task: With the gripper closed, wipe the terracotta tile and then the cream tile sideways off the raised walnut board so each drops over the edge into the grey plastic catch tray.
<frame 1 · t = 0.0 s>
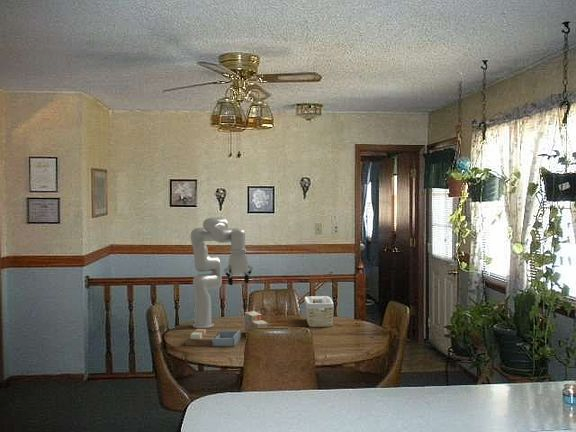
hand: (238, 284, 322), 31 cm above the table, tool pointing down, fingers open, 9 cm apart
terracotta tile: (200, 334, 327), point 3 cm above the table, touching walnut board
cream tile: (196, 338, 319), point 3 cm above the table, touching walnut board
stack of blocks: (256, 336, 334), on the table
storage basket: (318, 323, 366), on the table
catch tray: (226, 342, 321), on the table
walnut board: (202, 341, 323), on the table
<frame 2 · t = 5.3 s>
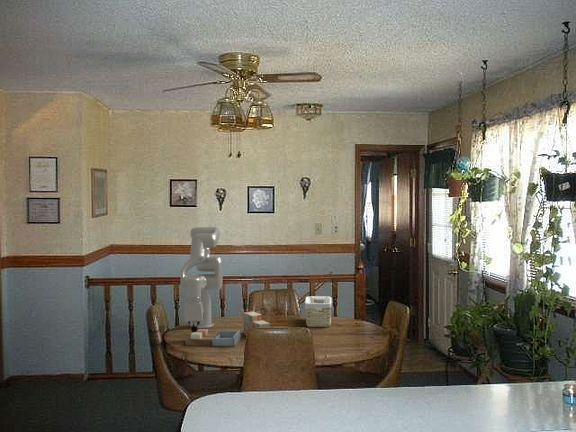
hand: (194, 333, 327), 4 cm above the table, tool pointing down, fingers closed
terracotta tile: (202, 334, 327), point 3 cm above the table, touching gripper
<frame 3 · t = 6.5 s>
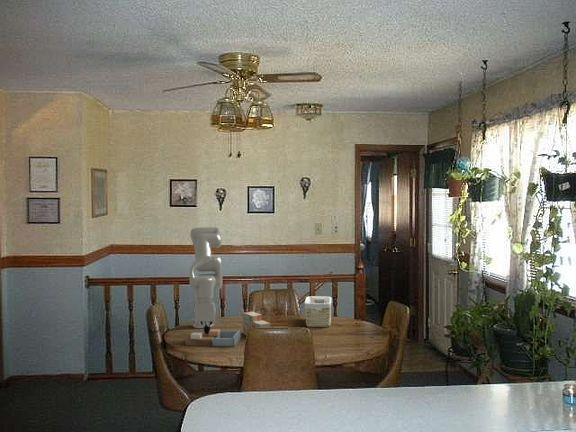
hand: (207, 333, 326), 4 cm above the table, tool pointing down, fingers closed
terracotta tile: (214, 334, 325), point 3 cm above the table, touching gripper, walnut board
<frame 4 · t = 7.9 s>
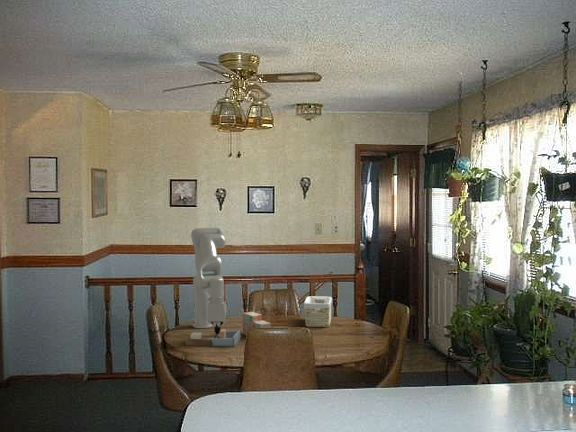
hand: (217, 333, 326), 4 cm above the table, tool pointing down, fingers closed
terracotta tile: (220, 334, 325), point 3 cm above the table, tilted 93°, touching catch tray, gripper
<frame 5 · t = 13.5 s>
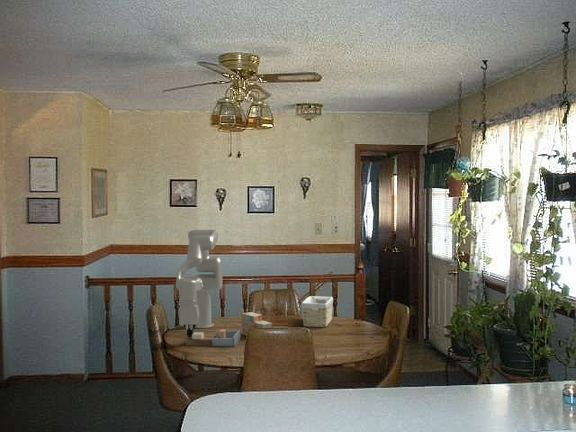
hand: (190, 336, 319), 4 cm above the table, tool pointing down, fingers closed
terracotta tile: (220, 334, 325), point 3 cm above the table, tilted 90°, touching catch tray
cream tile: (198, 338, 319), point 3 cm above the table, touching gripper
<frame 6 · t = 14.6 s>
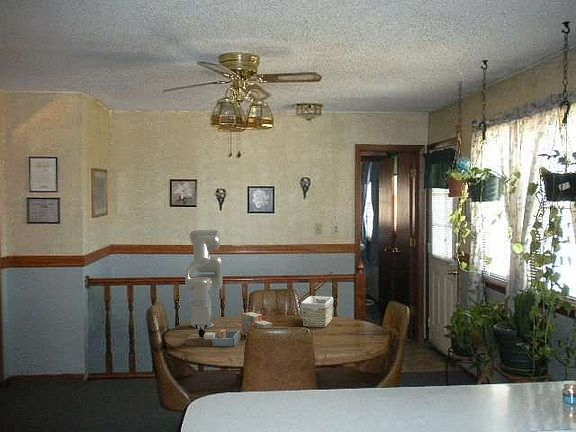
hand: (201, 336, 318), 4 cm above the table, tool pointing down, fingers closed
cream tile: (209, 338, 318), point 3 cm above the table, touching gripper, walnut board
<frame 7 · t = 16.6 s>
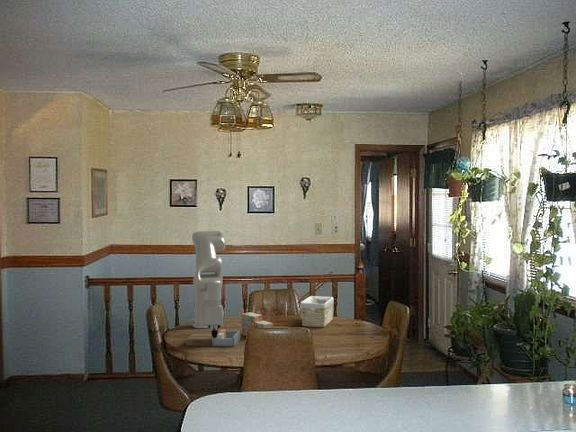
hand: (214, 337, 318), 4 cm above the table, tool pointing down, fingers closed
cream tile: (218, 338, 317), point 3 cm above the table, tilted 90°, touching catch tray, gripper
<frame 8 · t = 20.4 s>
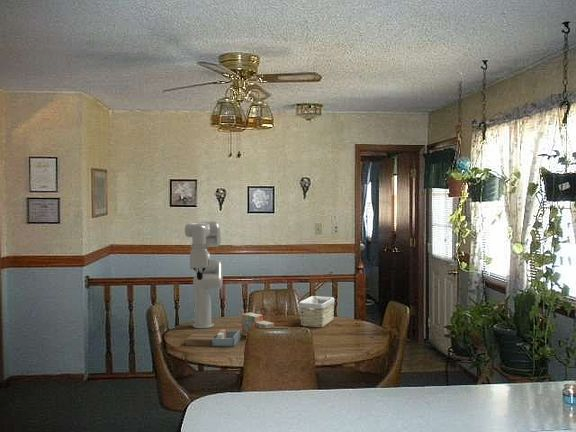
hand: (199, 279, 334), 32 cm above the table, tool pointing down, fingers closed
cream tile: (218, 338, 317), point 3 cm above the table, tilted 90°, touching catch tray
at the end: terracotta tile inside the target area on the catch tray (5.5 cm from its centre), point 3.1 cm above the catch tray's base; cream tile inside the target area on the catch tray (5.5 cm from its centre), point 3.1 cm above the catch tray's base; terracotta tile touching catch tray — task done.
